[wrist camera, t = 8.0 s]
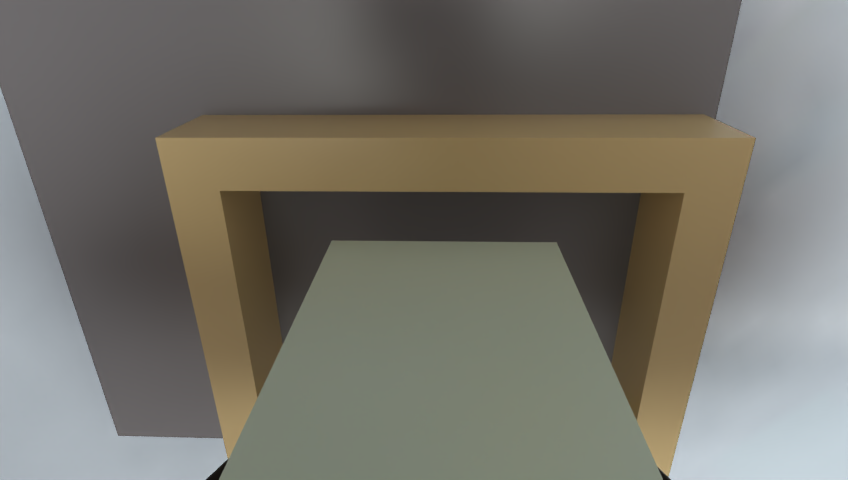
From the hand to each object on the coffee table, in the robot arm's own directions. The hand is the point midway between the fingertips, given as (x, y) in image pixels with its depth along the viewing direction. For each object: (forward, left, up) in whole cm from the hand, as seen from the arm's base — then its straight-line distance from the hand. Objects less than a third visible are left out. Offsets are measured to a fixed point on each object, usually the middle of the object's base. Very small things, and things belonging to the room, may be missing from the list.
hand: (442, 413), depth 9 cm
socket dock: (-2, +1, -5) cm, 6 cm away
